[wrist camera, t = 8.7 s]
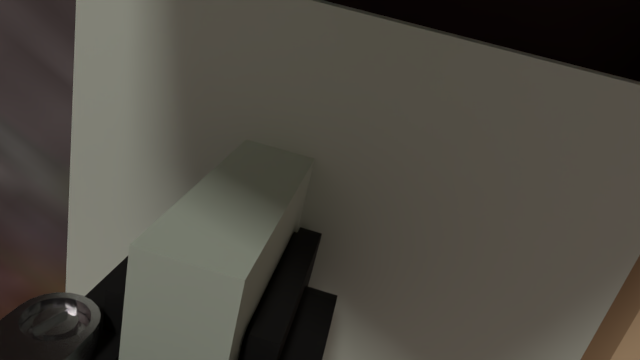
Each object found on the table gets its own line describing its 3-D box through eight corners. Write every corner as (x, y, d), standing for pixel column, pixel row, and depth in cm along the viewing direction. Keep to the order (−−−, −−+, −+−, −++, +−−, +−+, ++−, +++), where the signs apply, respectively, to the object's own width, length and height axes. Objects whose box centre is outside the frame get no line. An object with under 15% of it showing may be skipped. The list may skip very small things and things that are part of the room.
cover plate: (695, 96, 10) (1033, 221, 5) (482, 492, 15) (523, 786, 9) (106, -56, 11) (-196, -102, 6) (82, 362, 16) (-94, 561, 10)
